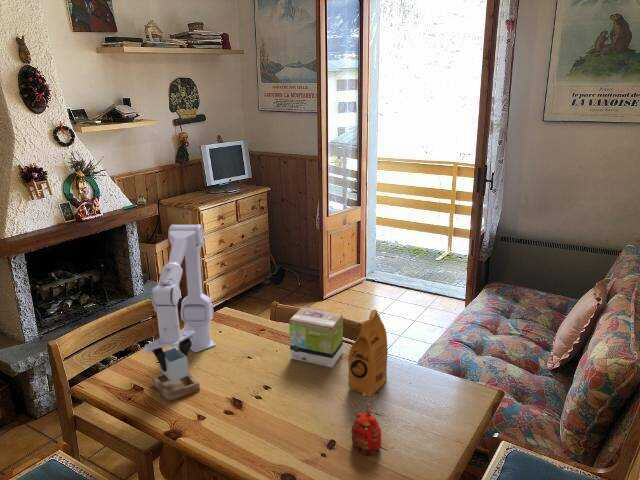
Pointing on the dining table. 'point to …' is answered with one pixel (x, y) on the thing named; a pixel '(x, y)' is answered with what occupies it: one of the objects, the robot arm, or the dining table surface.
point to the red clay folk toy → (366, 432)
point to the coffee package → (368, 356)
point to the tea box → (316, 337)
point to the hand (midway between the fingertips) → (173, 366)
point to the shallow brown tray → (175, 387)
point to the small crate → (175, 364)
